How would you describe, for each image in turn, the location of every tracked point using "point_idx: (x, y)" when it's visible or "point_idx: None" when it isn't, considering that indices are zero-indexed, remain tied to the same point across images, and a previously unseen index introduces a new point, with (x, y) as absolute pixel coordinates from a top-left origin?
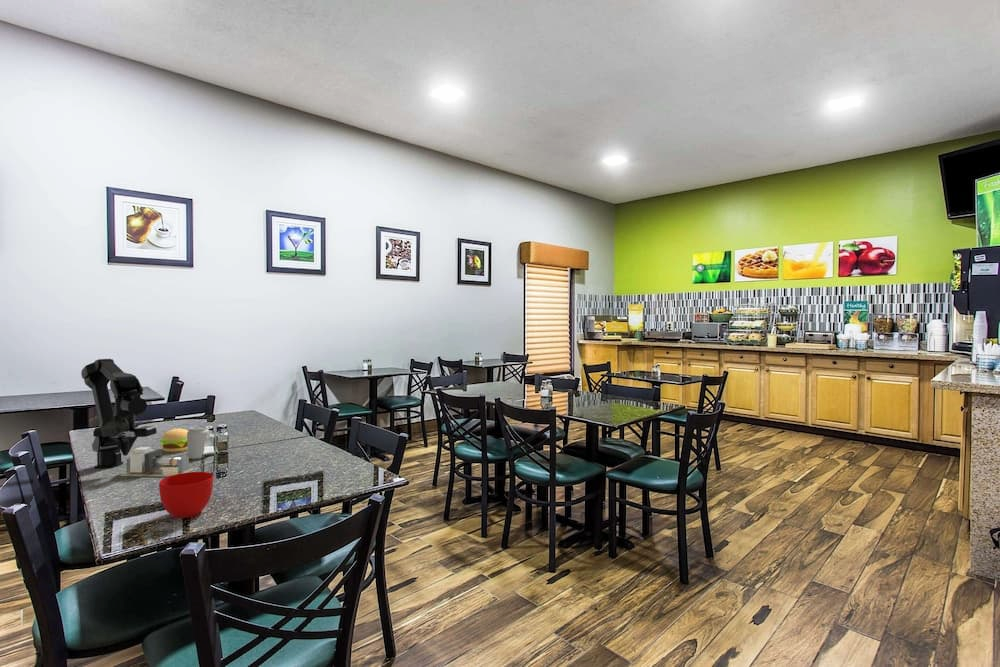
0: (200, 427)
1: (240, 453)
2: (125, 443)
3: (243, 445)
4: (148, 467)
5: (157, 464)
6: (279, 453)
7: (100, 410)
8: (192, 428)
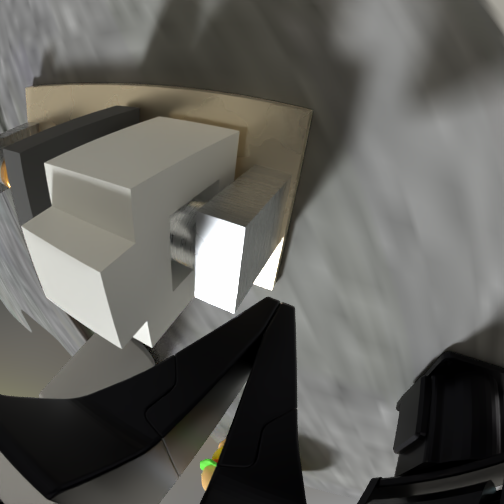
0: None
1: (67, 330)
2: (148, 404)
3: None
4: (92, 113)
5: None
6: (12, 287)
7: None
8: None
